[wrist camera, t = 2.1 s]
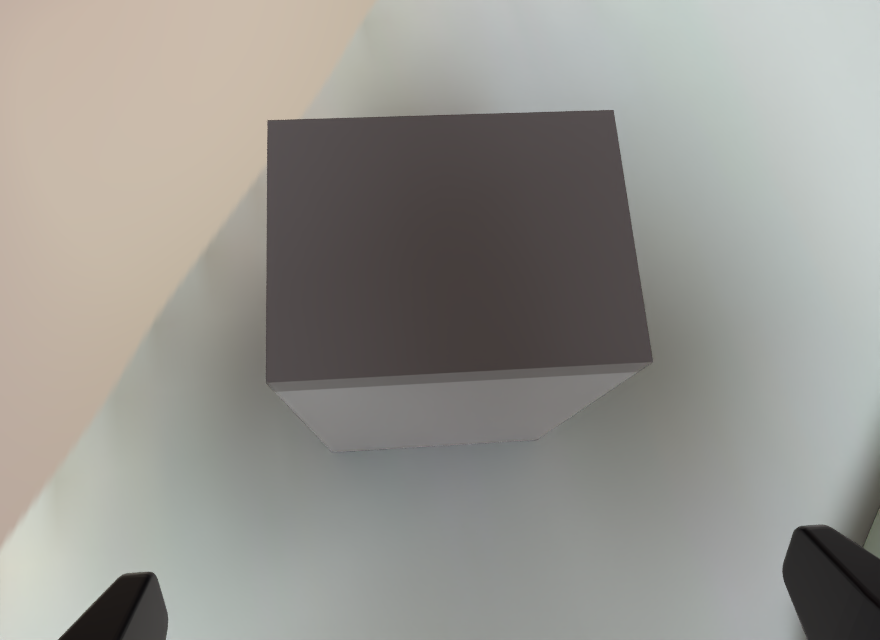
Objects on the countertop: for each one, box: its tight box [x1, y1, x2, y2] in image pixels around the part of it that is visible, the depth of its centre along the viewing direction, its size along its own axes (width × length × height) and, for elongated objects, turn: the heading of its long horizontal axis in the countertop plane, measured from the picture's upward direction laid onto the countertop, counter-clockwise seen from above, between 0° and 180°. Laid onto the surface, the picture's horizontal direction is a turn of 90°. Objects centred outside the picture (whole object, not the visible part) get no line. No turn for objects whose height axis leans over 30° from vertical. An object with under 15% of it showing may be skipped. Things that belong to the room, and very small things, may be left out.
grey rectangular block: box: [266, 110, 653, 452], centre depth 18 cm, size 6×7×11 cm
